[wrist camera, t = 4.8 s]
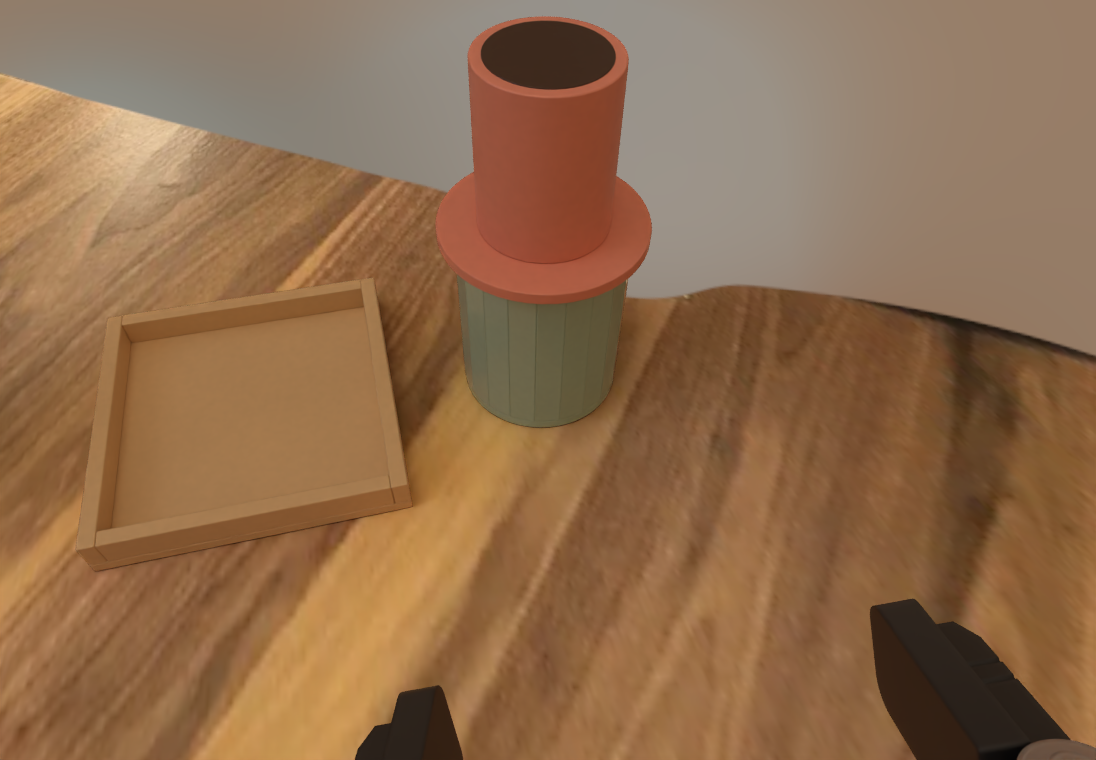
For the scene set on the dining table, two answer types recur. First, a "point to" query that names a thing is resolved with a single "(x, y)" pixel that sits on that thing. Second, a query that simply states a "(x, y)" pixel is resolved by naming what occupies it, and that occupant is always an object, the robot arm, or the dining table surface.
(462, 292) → the cup
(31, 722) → the dining table surface
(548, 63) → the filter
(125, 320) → the tray
